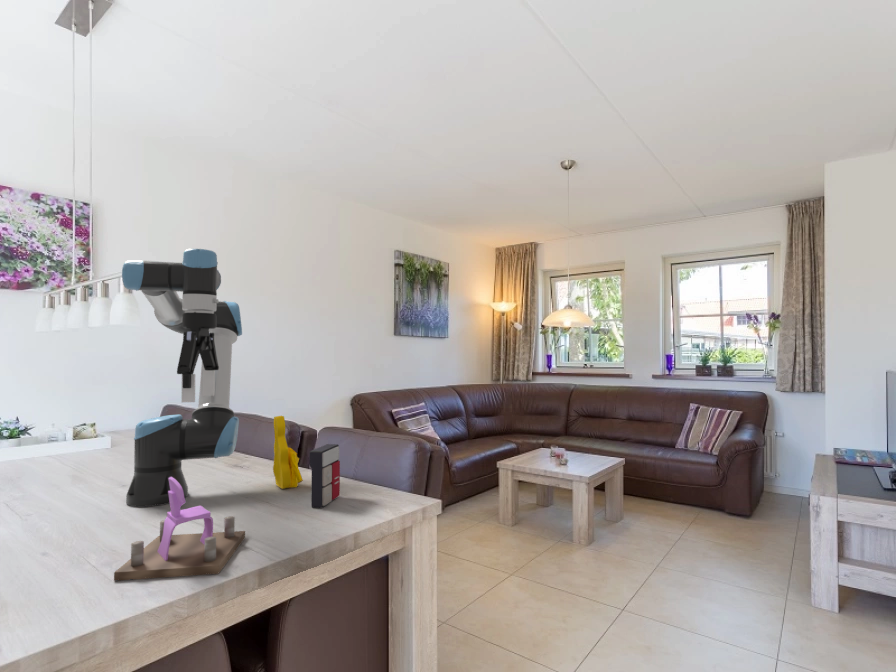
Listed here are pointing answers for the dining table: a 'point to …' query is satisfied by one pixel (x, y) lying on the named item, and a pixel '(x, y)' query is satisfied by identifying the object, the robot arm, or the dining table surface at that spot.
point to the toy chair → (182, 517)
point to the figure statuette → (284, 458)
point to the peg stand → (182, 554)
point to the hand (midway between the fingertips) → (199, 398)
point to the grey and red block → (325, 475)
